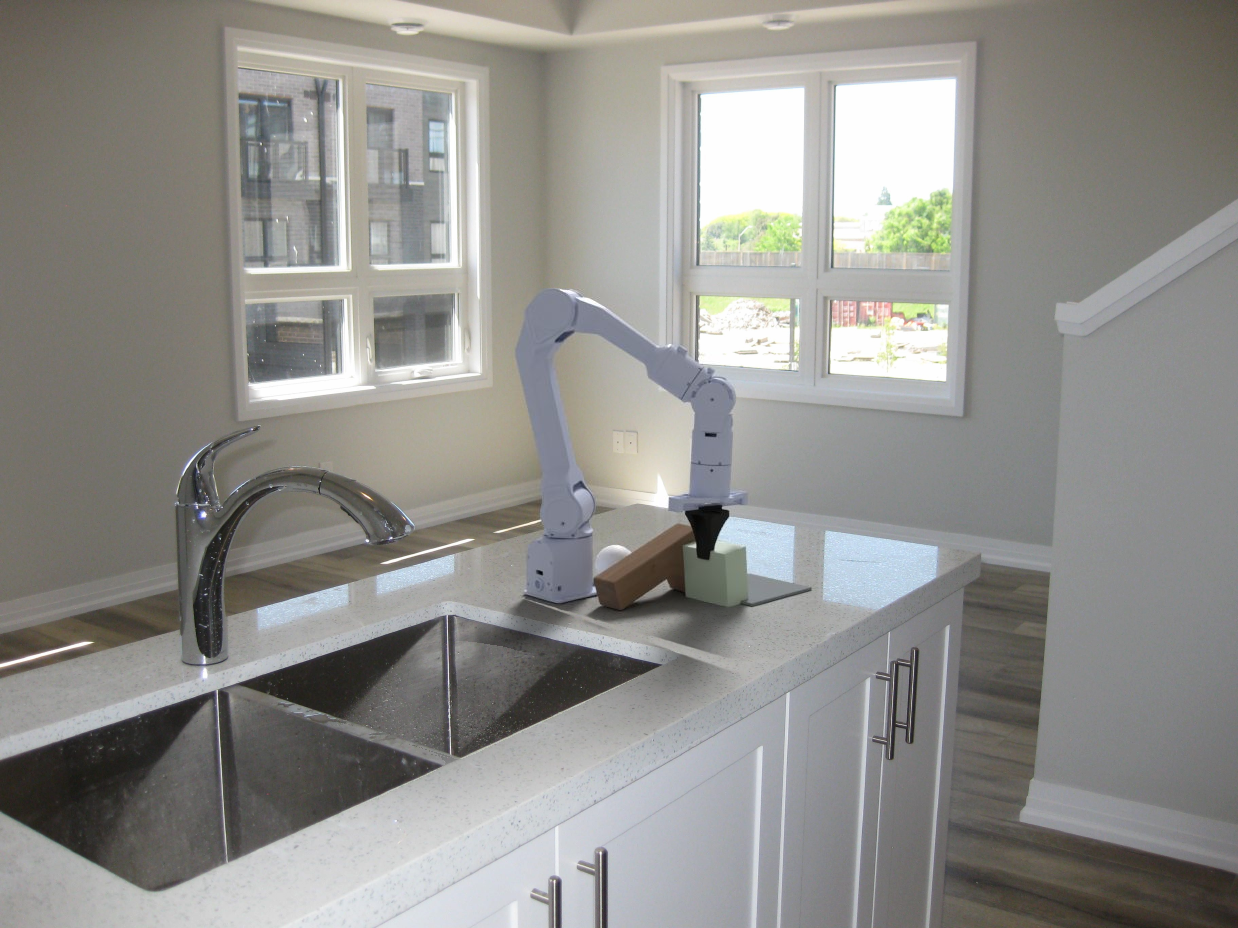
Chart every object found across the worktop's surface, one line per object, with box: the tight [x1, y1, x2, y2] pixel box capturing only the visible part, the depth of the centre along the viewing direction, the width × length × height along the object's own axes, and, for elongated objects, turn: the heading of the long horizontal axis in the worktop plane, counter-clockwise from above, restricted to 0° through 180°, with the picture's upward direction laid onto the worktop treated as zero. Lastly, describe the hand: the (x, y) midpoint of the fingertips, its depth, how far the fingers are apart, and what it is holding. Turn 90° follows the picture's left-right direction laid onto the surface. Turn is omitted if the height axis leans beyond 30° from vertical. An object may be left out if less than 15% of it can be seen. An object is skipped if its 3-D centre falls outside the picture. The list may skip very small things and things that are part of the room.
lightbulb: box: [594, 544, 632, 576], centre depth 177 cm, size 6×6×11 cm
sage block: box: [683, 540, 748, 608], centre depth 165 cm, size 4×8×8 cm, turn 44°
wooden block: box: [593, 523, 696, 611], centre depth 165 cm, size 9×4×18 cm
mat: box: [741, 573, 813, 607], centre depth 171 cm, size 14×12×1 cm
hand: (706, 558), depth 163 cm, fingers closed, pressing on sage block
